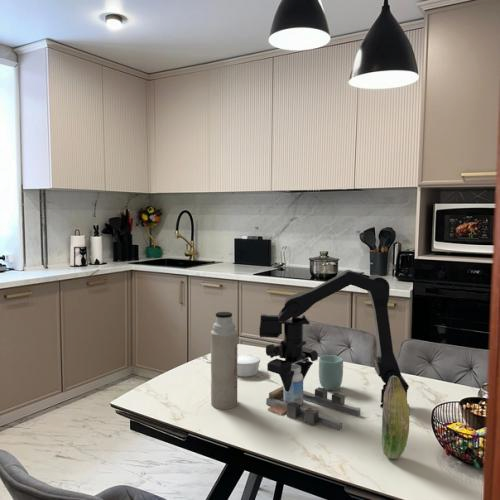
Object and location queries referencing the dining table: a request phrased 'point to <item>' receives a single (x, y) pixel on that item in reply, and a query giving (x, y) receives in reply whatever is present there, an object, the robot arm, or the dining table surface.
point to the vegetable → (394, 419)
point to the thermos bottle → (224, 362)
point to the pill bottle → (295, 387)
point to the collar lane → (311, 414)
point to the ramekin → (247, 365)
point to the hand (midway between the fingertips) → (293, 387)
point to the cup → (330, 371)
